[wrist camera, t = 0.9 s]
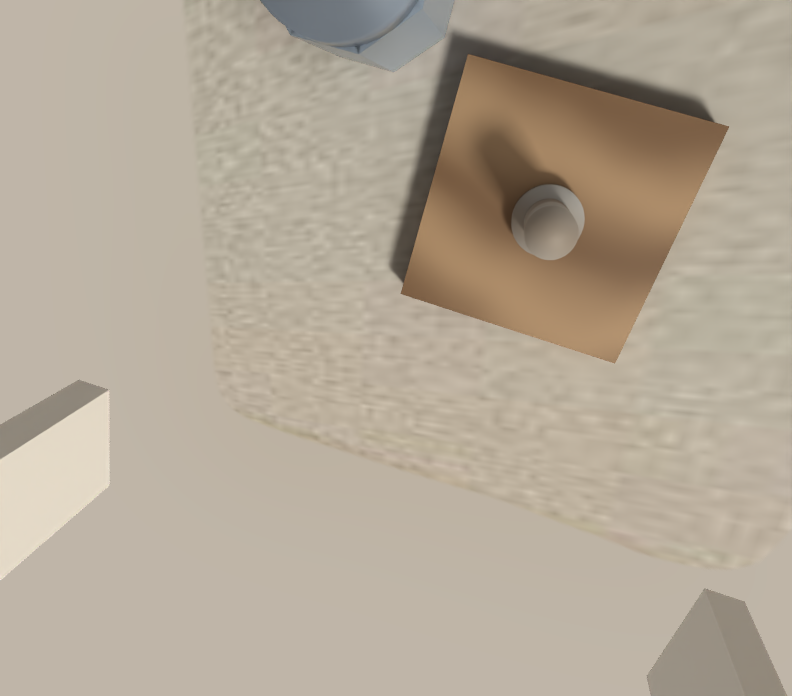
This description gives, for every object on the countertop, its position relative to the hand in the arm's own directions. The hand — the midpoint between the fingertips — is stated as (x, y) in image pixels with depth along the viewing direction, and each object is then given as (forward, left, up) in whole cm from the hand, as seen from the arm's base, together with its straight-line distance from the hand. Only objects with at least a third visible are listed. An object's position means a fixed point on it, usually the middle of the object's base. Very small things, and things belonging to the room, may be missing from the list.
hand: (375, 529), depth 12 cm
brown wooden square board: (-5, +3, -21) cm, 21 cm away
